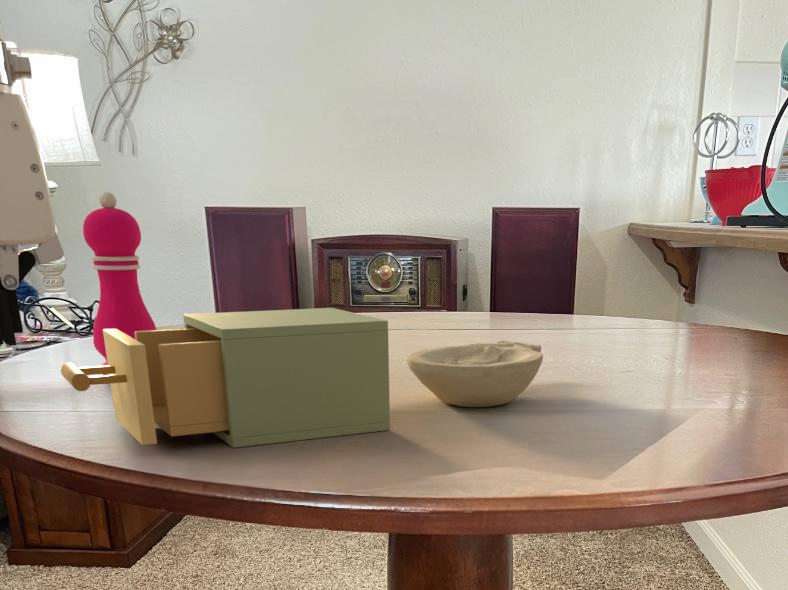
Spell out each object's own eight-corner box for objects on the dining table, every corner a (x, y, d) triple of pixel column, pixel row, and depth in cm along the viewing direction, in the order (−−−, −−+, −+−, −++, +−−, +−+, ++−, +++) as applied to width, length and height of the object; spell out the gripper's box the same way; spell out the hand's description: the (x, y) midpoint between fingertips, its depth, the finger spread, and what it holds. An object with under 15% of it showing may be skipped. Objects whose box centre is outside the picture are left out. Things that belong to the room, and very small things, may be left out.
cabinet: (233, 448, 74) (222, 329, 71) (194, 419, 84) (182, 314, 81) (390, 430, 81) (388, 320, 77) (336, 405, 91) (332, 307, 87)
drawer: (86, 451, 69) (70, 348, 66) (65, 423, 78) (50, 331, 75) (301, 428, 77) (295, 335, 74) (259, 405, 86) (253, 321, 83)
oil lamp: (472, 375, 108) (473, 333, 106) (583, 386, 102) (586, 341, 100) (379, 405, 91) (378, 355, 89) (506, 420, 85) (507, 367, 83)
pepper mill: (85, 380, 103) (56, 191, 95) (130, 371, 109) (106, 192, 101) (132, 385, 100) (106, 191, 92) (176, 376, 106) (155, 192, 98)
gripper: (58, 84, 68) (96, 333, 75) (-174, 70, 61) (-107, 345, 68) (72, 71, 62) (113, 343, 69) (-183, 53, 55) (-109, 357, 62)
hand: (3, 343), depth 69 cm, fingers closed
